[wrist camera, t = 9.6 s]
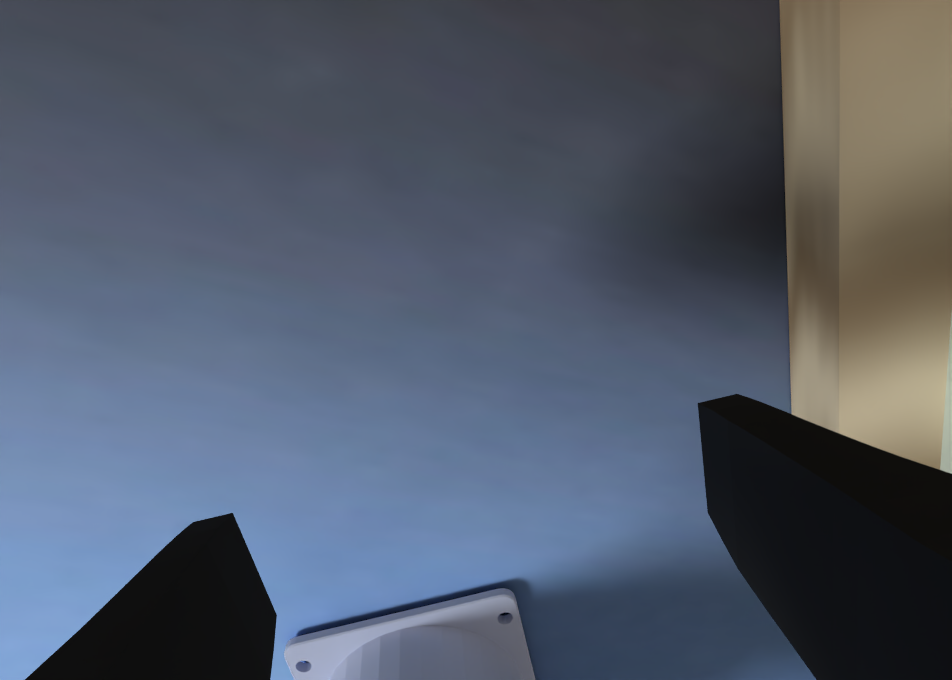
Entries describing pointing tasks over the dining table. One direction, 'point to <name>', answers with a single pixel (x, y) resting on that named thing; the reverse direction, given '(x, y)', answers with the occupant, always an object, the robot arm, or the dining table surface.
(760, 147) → the dining table surface
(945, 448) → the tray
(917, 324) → the shelf board
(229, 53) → the dining table surface
